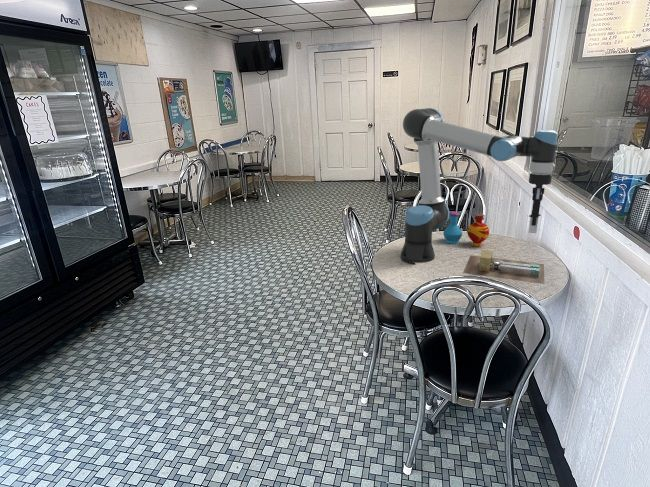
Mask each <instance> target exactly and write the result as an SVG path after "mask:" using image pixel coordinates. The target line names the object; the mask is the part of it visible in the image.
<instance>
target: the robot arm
mask: <svg viewBox="0 0 650 487" xmlns="http://www.w3.org/2000/svg"><path fill="white" fill-rule="evenodd" d="M402 127H403V131H404V133H405V134H406V135H407V136H408V137H411V138H413V142H414V144H415V145H416V146H417V153H418V154H417V155H418V165H419V166H418V168H419V178H420V190H421V192H420V193H421V199H420V200H418V205H416V206H415V205H414V206H411V207H409V208H408V209H406V211H405V217H404V222H405V223H404V224H405V226H404V244H403V246H402V249H401V252H400V260H401V261H402V262H404V263H407V264H410V265H416V263H417V264H418V263H429V262H431V261H433V260H434V259H435V258H436V254H435V250H434V247H433V244H432V242H433V241H432V239H433V238H432V237H433V232H434V231H436V230H438V229H441V228H442V227H443V226H445V224H447V222H448V221H449V220H450V214H449V213H450V209H449V207H448V206H447V205H446V200H445V198H444V197H442V192H441V177H440V160H439V144H438V143H442V144H445V145H450V146H453V147H456V148H460V149H464V150H468V151H471V152H474V153H478V154H481V155H485V156H488V157H491V158H492V159H494V160H496V161H497V162H505V161H506V162H507V161H510V159H513V158H516V157H531V161H530V168H529V172H530V173H529V176H528V183H529V184H531V185H535V186H534V187H533V188H532V192H531V193H532V198H531V200H532V201H533V202H532V208H531V214H529V215H528V217H529V218H530V220H529V228H528V233H529V234H537V232H538V224H539V217H541V214H540V207H541V204H542V203H541V202H542V201H543V199H544V198H543V196H544V194H545V187H543V186H545V185H546V186H548V185H551V183H552V178H553V177H552V176H553V174H552V173H553V168H555V167H556V164H554V162H555V158H556V152H557V146H558V132H557V131H556V130H537V131H535V133H534V134H533V135H530V136H526V135H525V136H523V135H503V136H500V135H499V136H498V135H494V134H493V133H491V134H490V133H489V132H488V133H487V132H483V131H479V130H477V129H476V130H475V129H472V128H468V127H464V126H459V125H456V124H451V123H448V122H445V119H444V116H443V114H442V113H441V112H440V111H439V110H437V109H435V108H432V107H431V108H430V107H429V108H427V107H426V108H416V109H412V110H410V111H409V112H407V113H406V114H405V116H404V117H403V121H402ZM434 261H435V260H434Z"/></svg>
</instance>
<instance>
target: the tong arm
mask: <svg viewBox="0 0 650 487" xmlns="http://www.w3.org/2000/svg"><path fill="white" fill-rule="evenodd" d="M492 264H494V265H500V264H504V265H512V266H520V267H528V268H538V269H539V265H534V264H520V263H510V262H503V261H498V260H497V261H492Z"/></svg>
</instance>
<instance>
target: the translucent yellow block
mask: <svg viewBox="0 0 650 487" xmlns="http://www.w3.org/2000/svg"><path fill="white" fill-rule="evenodd" d="M493 254H494V251H493V250H489V249H488V250H487V249H482V251H481V253H480V263H479V271H485V272H490V263H492V258H493Z"/></svg>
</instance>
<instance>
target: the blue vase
mask: <svg viewBox="0 0 650 487" xmlns="http://www.w3.org/2000/svg"><path fill="white" fill-rule="evenodd" d="M459 215H460V213H459V212H458V211H449V225H448V226H447V227H446V228H445V229H444V230H443V233H442V234H443V237H444V239H445V242H446V243H448V244H459V243H460V240H461V238H462V237H463V231H462V230H461V228H460V227H459V225H458V219H459V218H458V217H459Z"/></svg>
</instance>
